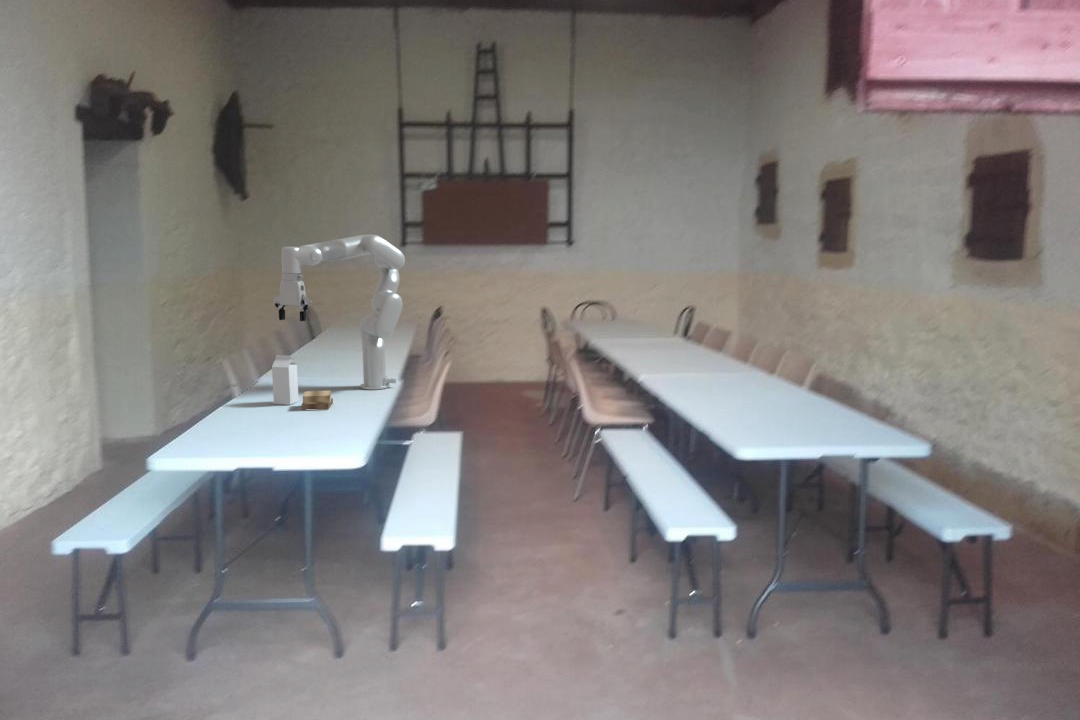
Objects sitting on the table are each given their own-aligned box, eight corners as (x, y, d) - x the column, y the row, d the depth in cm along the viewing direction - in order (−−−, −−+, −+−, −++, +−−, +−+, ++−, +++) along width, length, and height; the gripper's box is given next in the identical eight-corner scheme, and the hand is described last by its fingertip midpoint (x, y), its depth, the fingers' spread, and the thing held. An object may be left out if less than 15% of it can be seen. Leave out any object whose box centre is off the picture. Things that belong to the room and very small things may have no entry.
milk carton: (290, 405, 346) (288, 357, 343) (273, 404, 347) (271, 356, 344) (298, 401, 353) (296, 354, 350) (282, 401, 354) (280, 354, 351)
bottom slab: (333, 405, 347) (332, 398, 347) (328, 411, 337) (328, 403, 337) (307, 406, 347) (307, 398, 346) (302, 411, 337) (301, 403, 336)
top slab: (331, 397, 347) (331, 390, 347) (329, 403, 338) (329, 395, 337) (305, 399, 346) (304, 391, 345) (302, 404, 336) (302, 396, 335)
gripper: (315, 278, 353) (316, 320, 356) (279, 276, 359) (279, 318, 361) (304, 278, 346) (305, 322, 349) (267, 277, 352) (268, 320, 354)
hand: (292, 320), depth 355 cm, fingers open, 9 cm apart
